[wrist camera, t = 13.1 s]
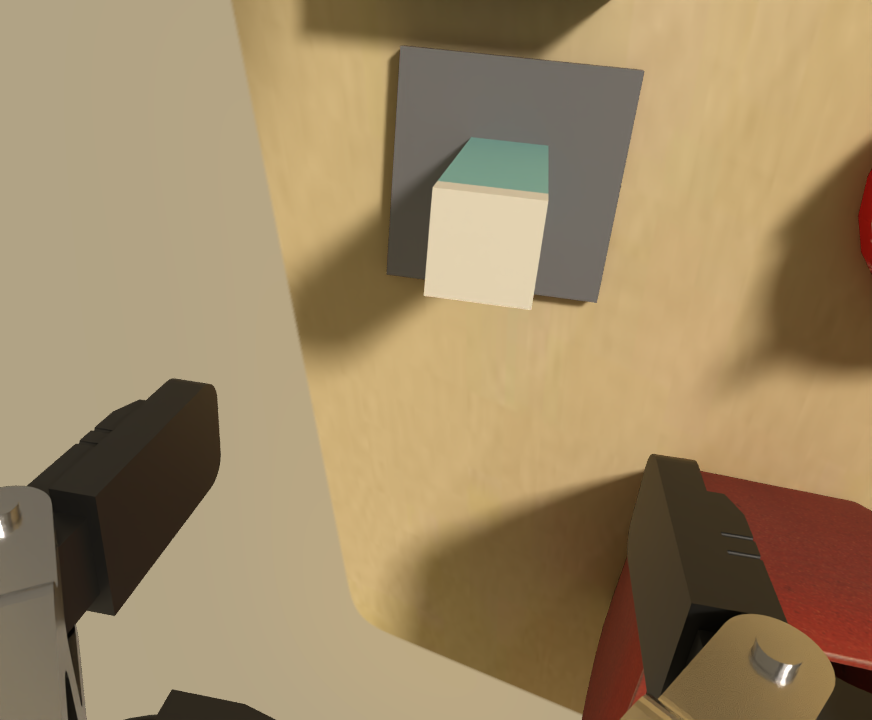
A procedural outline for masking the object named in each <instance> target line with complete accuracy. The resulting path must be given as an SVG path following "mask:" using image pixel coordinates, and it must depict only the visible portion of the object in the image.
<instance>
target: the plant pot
mask: <svg viewBox="0 0 872 720" xmlns="http://www.w3.org/2000/svg"><path fill="white" fill-rule="evenodd" d="M700 472H701V475H702V478H703V481H704V484H705V487H706V490H707V491H710V492H716V493H722V494H725V495H726V496H727V497H728V498H729V499H730V500H731V501H732V502H733V503H734V504H735V505H736V507H737V508H738V509H739V510H740V511H741V512H742V513H743V514H744V515H745V517H746V520H747V522H748V525H749V527H750V530H751V532H752V535H753V541H755V542H756V545H757V547H758V550H759V552H760V555H761V557H760V560H763V562H764V565H765V567H766V570H767V572H768V575H769V577H770V580H771V582H772V585H773V587H774V590H775V592H776V595H777V597H778V600H779V602H780V605H781V607H782V610H783V612H784V615H785V617H786V620H787V622H788V624H789V625H791V626H793V627H795V628H797V629H798V630H800V631H801V632H803V633H804V634H805V635H807V636H808V637H809V638H810V639H812V640H813V641H814V642H815V643H816V644H817V645H818V646H819V647H820V648H821V649H822V651H823V652H824V653H825V654H826V656H827V657H828V659H829V661H830V662H831V664H832V667H833V670H834V673H835V676H836V677H837V678H839V679H841V680H843V681H844V682H846V683H848V684H850V685H853V686H855V687H857V688H859V689H861V690H864V691H866V692H869V693H871V694H872V511H871V510H869V509H867V508H865V507H863V506H862V505H860V504H858V503H856V502H852V501H848V500H843V499H838V498H833V497H828V496H823V495H818V494H813V493H808V492H803V491H798V490H793V489H788V488H783V487H778V486H772V485H767V484H763V483H758V482H753V481H748V480H743V479H738V478H733V477H728V476H723V475H718V474H713V473H708V472H703V471H700ZM645 694H647V690H646V683H645V676H644V669H643V662H642V655H641V648H640V641H639V634H638V627H637V620H636V613H635V607H634V600H633V593H632V586H631V579H630V572H629V565H628V557H627V558H626V561H625V564H624V567H623V570H622V572H621V575H620V578H619V581H618V584H617V587H616V589H615V592H614V595H613V598H612V601H611V604H610V607H609V610H608V613H607V616H606V619H605V622H604V625H603V629H602V633H601V637H600V640H599V644H598V648H597V652H596V656H595V660H594V664H593V669H592V673H591V677H590V682H589V687H588V691H587V696H586V701H585V706H584V711H583V716H582V720H620V719H621V718H622V717H623V716H624V714H625V713H626V712H627V711H628V710H629V709H630V708H631V707H632V706H633V705H634V704H635V703H636V702H637V701H638V700H639V699H640V698H641V697H642V696H643V695H645Z"/></svg>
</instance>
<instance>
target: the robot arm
mask: <svg viewBox="0 0 872 720" xmlns="http://www.w3.org/2000/svg"><path fill="white" fill-rule="evenodd" d="M220 457H221V453H220V437H219V420H218V404H217V394H216V390H215V388H214V386H213V385H211V384H206V383H200V382H193V381H187V380H181V379H170V380H168V381H167V382H166V383H165V384H163V385H162V386H161V387H160V388H159V389H158V390H157V391H156V392H155V393H154V394H152V395H151V396H150V397H149V398H148V399H147V400H138V401H135V402H133V403H131V404H129V405H127V406H124V407H122V408H120V409H118V410H115V411H113V412H112V413H111V414H110V415H109V416H107V417H106V418H105V419H104V420H103V421H102V422H100V423H99V424H98V425H97V426H96V427H95V430H94V431H90V432H89V433H88V434H87V435H85V436H84V437H83V438H82V439H81V440H80V443H79V444H75V445H74V446H73V447H72V448H70V449H69V450H68V451H67V452H66V453H64V454H63V455H62V456H61V457H60V458H59V459H57V460H56V461H55V462H54V463H53V464H52V465H51V466H49V467H48V468H47V469H46V470H45V471H44V472H42V473H41V474H40V475H39V476H38V477H37V478H36V479H34V480H33V481H32V482H31V483H30V484H28V485H27V486H6V487H0V720H86V719H87V718H86V708H85V699H84V690H83V679H82V668H81V658H80V649H79V639H78V632H77V627H76V623H77V622H78V620H79V619H80V618H81V617H82V615H83V614H84V613H85V612H86V610H87V611H92V612H97V613H102V614H107V615H113V616H115V615H116V614H117V612H118V611H119V610H120V608H121V607H122V606H123V604H124V603H125V602H126V600H127V599H128V598H129V596H130V595H131V594H132V592H133V591H134V590H135V588H136V587H137V586H138V584H139V583H140V582H141V580H142V579H143V578H144V576H145V575H146V574H147V572H148V571H149V570H150V568H151V567H152V566H153V564H154V563H155V562H156V560H157V559H158V557H159V556H160V555H161V554H162V552H163V551H164V550H165V548H166V547H167V546H168V544H169V543H170V542H171V540H172V539H173V538H174V536H175V535H176V534H177V532H178V531H179V530H180V528H181V527H182V526H183V524H184V523H185V522H186V520H187V519H188V518H189V516H190V515H191V514H192V512H193V511H194V510H195V508H196V507H197V506H198V504H199V503H200V502H201V500H202V499H203V498H204V496H205V495H206V494H207V492H208V491H209V490H210V488H211V487H212V485H213V484H214V482H215V479H216V477H217V474H218V470H219V466H220ZM627 557H628V565H629V572H630V579H631V586H632V593H633V600H634V607H635V613H636V620H637V627H638V634H639V641H640V648H641V655H642V662H643V669H644V676H645V683H646V690H647V694H645V695H643V696H642V697H641V698H640V699H639V700H638V701H637V702H636V703H635V704H634V705H633V706H632V707H631V708H630V709H629V710H628V711H627V712H626V713H625V714H624V716H623V717H622V718H621V719H620V720H872V694H871V693H869V692H866V691H864V690H861V689H859V688H857V687H855V686H853V685H850V684H848V683H846V682H844V681H843V680H841V679H839V678H837V677H836V676H835V673H834V670H833V667H832V664H831V662H830V661H829V659H828V657H827V656H826V654H825V653H824V652H823V651H822V649H821V648H820V647H819V646H818V645H817V644H816V643H815V642H814V641H813V640H812V639H810V638H809V637H808V636H807V635H805V634H804V633H803V632H801V631H800V630H798V629H797V628H795V627H793V626H791V625H789V624H788V622H787V620H786V617H785V615H784V612H783V610H782V607H781V605H780V602H779V600H778V597H777V595H776V592H775V590H774V587H773V585H772V582H771V580H770V577H769V575H768V572H767V570H766V567H765V565H764V562H763V560H760V557H761V555H760V552H759V550H758V547H757V545H756V542H755V541H753V535H752V532H751V530H750V527H749V525H748V522H747V520H746V517H745V515H744V514H743V513H742V512H741V511H740V510H739V509H738V508H737V507H736V505H735V504H734V503H733V502H732V501H731V500H730V499H729V498H728V497H727V496H726V495H725V494H722V493H716V492H710V491H707V490H706V487H705V484H704V481H703V478H702V475H701V472H700V469H699V466H698V464H697V462H696V461H695V460H689V459H683V458H676V457H670V456H663V455H657V454H651V455H650V457H649V459H648V461H647V464H646V467H645V471H644V475H643V478H642V482H641V486H640V490H639V493H638V497H637V501H636V504H635V508H634V512H633V516H632V519H631V523H630V528H629V534H628V545H627ZM125 720H275V719H273V718H271V717H269V716H267V715H265V714H263V713H261V712H259V711H257V710H255V709H253V708H251V707H249V706H247V705H245V704H241V703H237V702H232V701H227V700H222V699H217V698H212V697H207V696H202V695H197V694H192V693H187V692H182V691H177V690H171V692H170V694H169V695H168V697H167V699H166V701H165V702H164V704H163V706H162V708H161V709H160V711H159V713H158V714H157V715H147V716H141V717H135V718H129V719H125Z"/></svg>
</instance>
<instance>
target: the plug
mask: <svg viewBox="0 0 872 720" xmlns="http://www.w3.org/2000/svg"><path fill="white" fill-rule="evenodd" d="M547 207H548V146H547V145H538V144H529V143H519V142H510V141H501V140H492V139H483V138H474V137H471V138H470V139H469V141H468V142H467V143H466V145H465V146H464V147H463V148H462V150H461V151H460V152H459V154H458V155H457V156H456V158H455V159H454V160H453V162H452V163H451V164H450V165H449V167H448V168H447V169H446V171H445V172H444V173H443V175H442V176H441V177H440V178H439V180H438V181H437V182H436V184H435V185H434V186H433V189H432V201H431V213H430V225H429V237H428V250H427V262H426V274H425V286H424V296H430V297H437V298H445V299H452V300H460V301H467V302H475V303H482V304H490V305H497V306H505V307H512V308H520V309H527V310H531V309H532V302H533V296H534V290H535V283H536V277H537V271H538V264H539V258H540V251H541V245H542V239H543V232H544V226H545V220H546V213H547Z"/></svg>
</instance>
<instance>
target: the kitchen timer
mask: <svg viewBox="0 0 872 720" xmlns="http://www.w3.org/2000/svg"><path fill="white" fill-rule="evenodd" d="M858 218H859V230H860V242H861V252H862V254H863V257H864V259H865V261H866V263H867V265H868V267H869V269H870V272H871V274H872V170H871V171H870V173H869V175H868V177H867V181H866V185H865V190H864V194H863V198H862V202H861V207H860V211H859V215H858Z"/></svg>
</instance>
